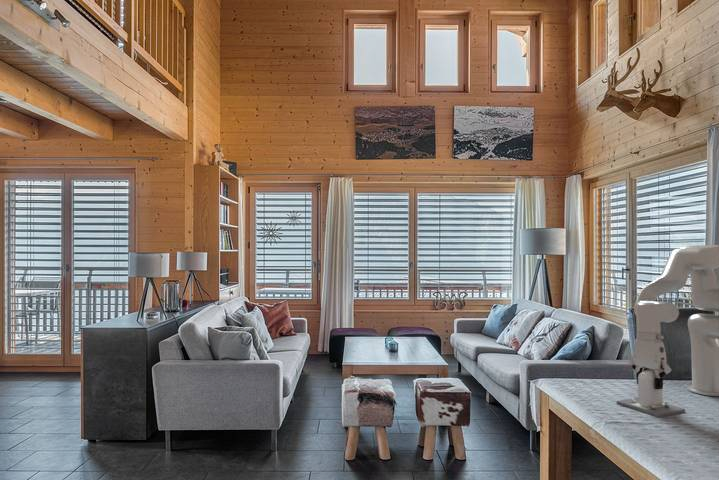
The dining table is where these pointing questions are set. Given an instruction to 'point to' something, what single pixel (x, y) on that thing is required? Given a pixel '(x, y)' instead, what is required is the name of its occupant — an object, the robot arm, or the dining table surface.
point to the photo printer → (648, 389)
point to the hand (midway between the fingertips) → (649, 386)
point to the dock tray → (651, 407)
